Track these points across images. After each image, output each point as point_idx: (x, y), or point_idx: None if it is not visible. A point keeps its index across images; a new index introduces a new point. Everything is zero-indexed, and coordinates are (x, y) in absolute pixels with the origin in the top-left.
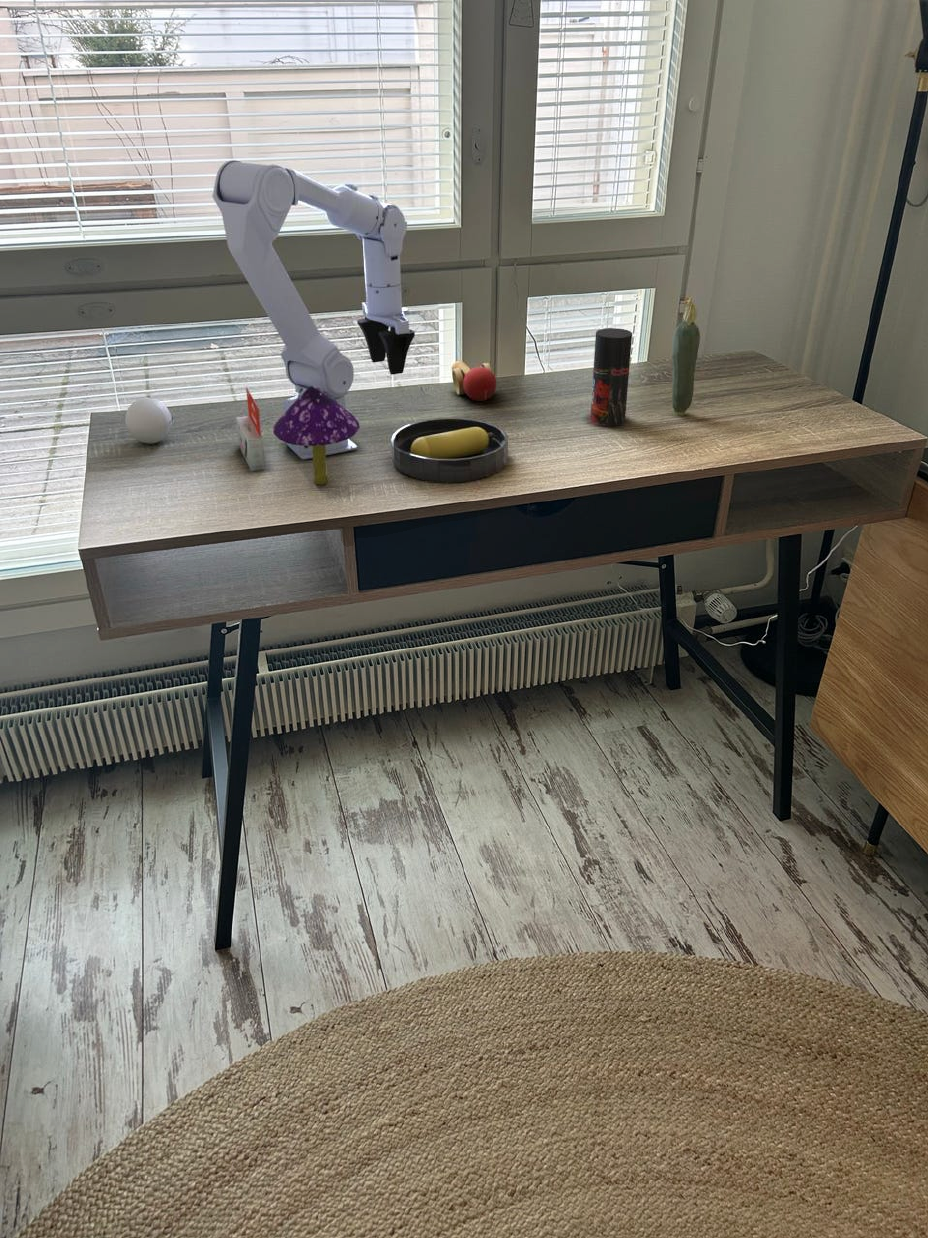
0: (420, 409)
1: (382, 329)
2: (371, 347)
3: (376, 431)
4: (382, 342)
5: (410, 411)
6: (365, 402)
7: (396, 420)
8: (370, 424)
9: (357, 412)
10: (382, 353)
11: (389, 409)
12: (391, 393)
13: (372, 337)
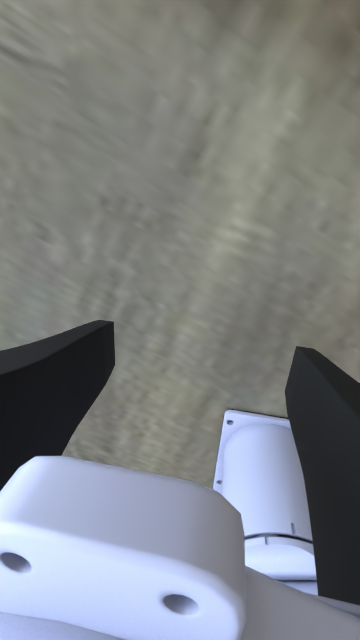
0: (180, 164)
1: (24, 409)
2: (85, 407)
3: (256, 344)
4: (70, 365)
5: (180, 200)
6: (63, 268)
7: (220, 269)
8: (207, 332)
9: (119, 317)
10: (101, 344)
11: (136, 243)
12: (20, 171)
13: (58, 435)
